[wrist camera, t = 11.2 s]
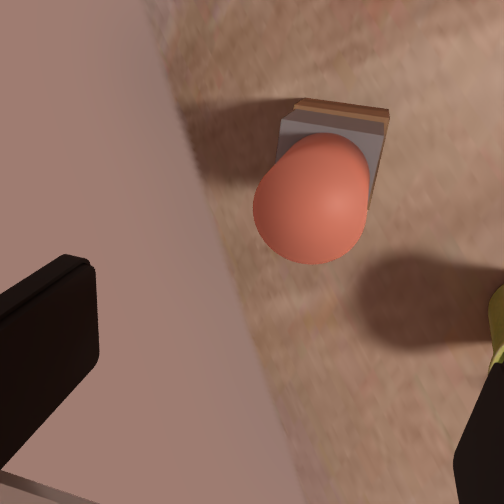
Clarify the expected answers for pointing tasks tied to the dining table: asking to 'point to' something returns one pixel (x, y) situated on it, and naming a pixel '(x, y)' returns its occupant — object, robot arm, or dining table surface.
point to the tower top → (354, 129)
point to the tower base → (349, 111)
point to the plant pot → (497, 325)
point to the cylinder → (314, 199)
